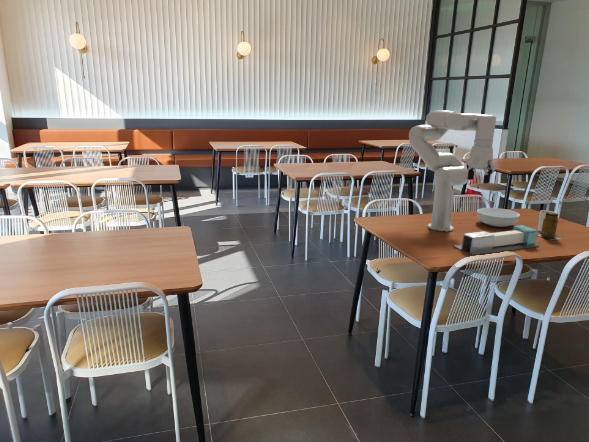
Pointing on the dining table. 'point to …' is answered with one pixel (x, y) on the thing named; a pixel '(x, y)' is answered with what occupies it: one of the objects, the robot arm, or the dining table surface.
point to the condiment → (549, 226)
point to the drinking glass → (542, 218)
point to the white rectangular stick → (508, 237)
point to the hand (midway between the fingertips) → (478, 181)
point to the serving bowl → (497, 216)
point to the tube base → (484, 240)
